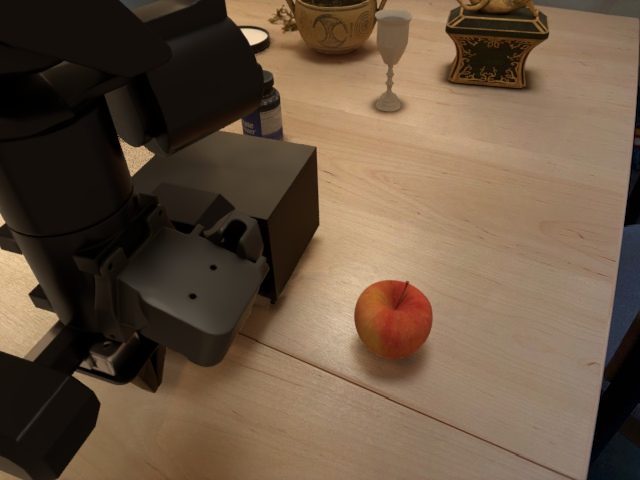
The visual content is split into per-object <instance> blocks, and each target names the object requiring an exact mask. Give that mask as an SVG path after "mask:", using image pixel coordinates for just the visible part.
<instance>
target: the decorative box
mask: <svg viewBox="0 0 640 480" xmlns="http://www.w3.org/2000/svg"><path fill="white" fill-rule="evenodd" d="M468 1H469V2H467V3H464V2H463V0H456V2H457V3H458V4H459V6H456V7H454V8H453V9H450V10H449V13H448V16H447V20H446V24H445V31H444V32H445V33H446V34H447V36H448V37H449V38H450V39H451V40H452V42H453V44H454V47H455V56H454V58H453V60H452V62H451V66H450V69H449V74H448V77H447V78H448V79H447V80H448V81H450V82H452V83H455V84H467V85H476V86H477V85H478V86H487V87H488V86H489V87H499V88H510V89H522V88H524V87H526V85H527V84H526V63H527V59H528V57H529V55H530V53H531V52H532V51H533V50H534V49H535V48H536V47H538V46H539V45H540V44H542V43H543V42H545V41H546V40H548V39H549V37H550V25H549V17H548V15H546V14H545V13H544V12H542V10H540V8H538V7H537V8H536V7H535V4H534V1H533V0H468Z"/></svg>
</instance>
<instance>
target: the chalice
mask: <svg viewBox="0 0 640 480" xmlns="http://www.w3.org/2000/svg"><path fill="white" fill-rule="evenodd" d="M375 17H376V19H377V22H376V26H377V27H376V45H377V48H378V52H379V55H380V56H381V59H382V62H383V64H385V65H387V71H386V73H385V75H386V77H387V79H386V81H385V82H384V83H385V85H386V90H385V92H383V93H381V94H380V96H379V98H378V99H377V102H376V103H375V108H377V109H378V110H379V111H382V112H395V111H397V110H399V109H400V108H401V103H400V100H399V97H398V95H397V94H396V93H395V92H393V90H392V87H393V86H394V84H395V82H394V81H393V78H394V75H395V72H394V69H393V68H394V66H397V65H398V64H399V62H400V60H401V58H402V57H403V55H404V53H405V52H406V49H407V47H408V44H409V36H410V35H409V33H410V24H411V23H410V22H411V21H412V19H413V17H414V15H413V13H412V12H411V11H408V10H405V9H402V8H401V9H400V8H383V10H380V11H378V12H376V13H375Z"/></svg>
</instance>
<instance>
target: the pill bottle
mask: <svg viewBox="0 0 640 480" xmlns="http://www.w3.org/2000/svg"><path fill="white" fill-rule="evenodd" d="M263 75H264V94H263V98H262V102H261V103H260V105H259V107H258V109H256V110H255V111H254V112H253V113H251V114H249V115H247V116H245V117H243V118H242V119H240V120H241V128H242V134H243V135H249V136H255V137H261V138H267V139H274V140H280V141H285V140H284V128H283V115H282V103H281V94H280V92H279V90H278V89H277V88H275V87H274V85H275V78H274V74H273V72H271V71H269V70H267V69H263Z"/></svg>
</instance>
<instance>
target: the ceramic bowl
mask: <svg viewBox="0 0 640 480" xmlns="http://www.w3.org/2000/svg"><path fill="white" fill-rule="evenodd" d="M285 2H286V4H287V7H288V8H289V9H290V11H291V13H292V15H293V18H294V21H295V25H296V27H297V30H298V33H299V35H300V37H301V39H302V40H303V41H304V42H305V43H306V45H308V46H309V47H310V48H312V50H313V49H314V50H315V51H316V52H319V53H322V54H324V55H330V56H337V55H345V54H347V53H351V52H353V51H355V50H357V49H358V48H359V49H360V47H362V46H363V45H364V44H365V43H366V42H367V40H368V39H369V38H370V37H371V36H372V34H373V32H374V29H375V27H376V25H377V19H376V17H375V13H376V12H378V11H380V10H384V9H385V6H386V4H387V2H388V0H381V1H380V3H379V6H378V0H295V1H294V0H285Z"/></svg>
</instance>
